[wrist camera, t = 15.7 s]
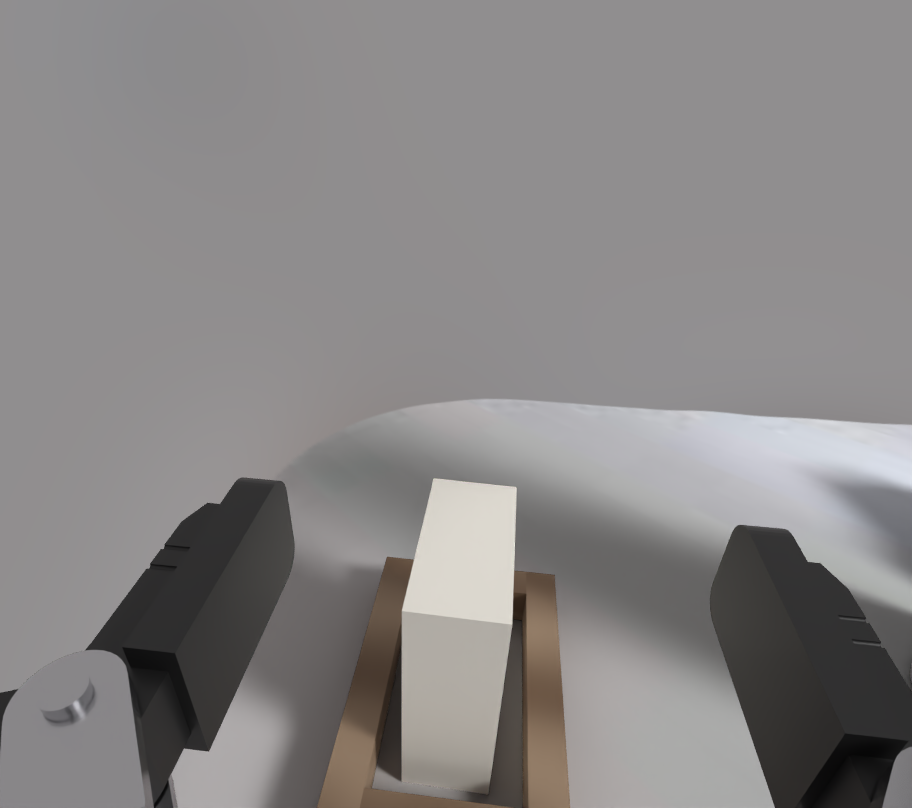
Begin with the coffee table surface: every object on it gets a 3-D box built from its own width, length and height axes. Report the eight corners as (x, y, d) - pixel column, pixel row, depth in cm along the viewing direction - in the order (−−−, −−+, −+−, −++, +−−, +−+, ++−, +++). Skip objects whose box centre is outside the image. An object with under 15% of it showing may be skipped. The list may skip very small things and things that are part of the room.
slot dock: (387, 583, 32) (387, 556, 31) (549, 601, 32) (554, 574, 31) (315, 856, 21) (311, 828, 20) (565, 891, 20) (573, 864, 19)
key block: (496, 645, 29) (516, 487, 24) (488, 794, 23) (512, 624, 18) (428, 636, 29) (433, 478, 24) (401, 782, 23) (401, 610, 18)
